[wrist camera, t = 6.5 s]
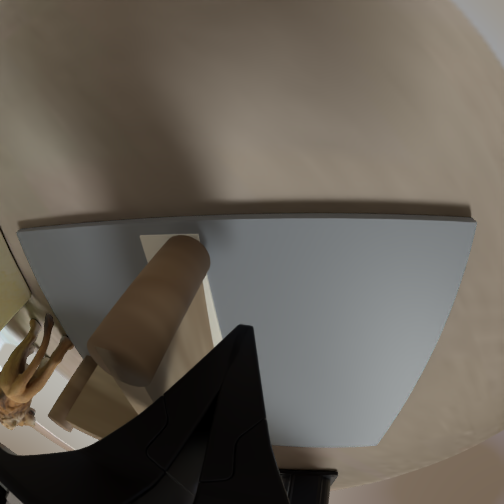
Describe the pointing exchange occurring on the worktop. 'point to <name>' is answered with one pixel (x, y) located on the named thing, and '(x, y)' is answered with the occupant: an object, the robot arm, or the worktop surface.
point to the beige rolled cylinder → (157, 324)
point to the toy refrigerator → (10, 286)
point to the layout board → (286, 302)
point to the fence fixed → (92, 402)
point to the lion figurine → (28, 375)
